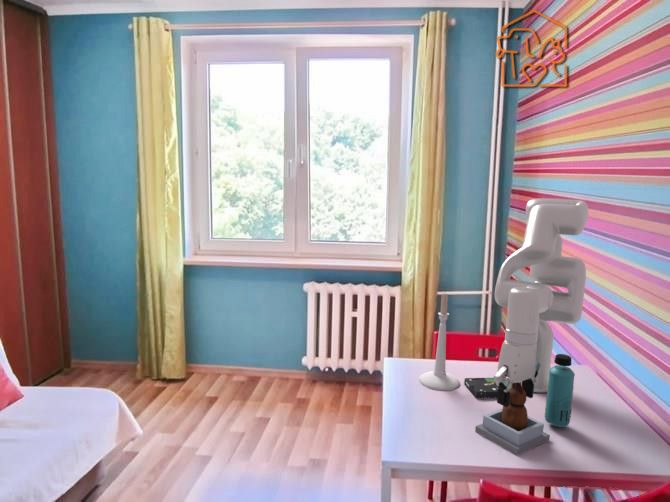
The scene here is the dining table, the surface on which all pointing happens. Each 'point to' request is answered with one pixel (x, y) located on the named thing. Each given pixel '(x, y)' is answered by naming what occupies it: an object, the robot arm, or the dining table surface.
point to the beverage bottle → (560, 392)
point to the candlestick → (440, 357)
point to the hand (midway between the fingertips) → (515, 400)
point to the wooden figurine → (515, 408)
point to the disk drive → (482, 387)
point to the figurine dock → (512, 433)
